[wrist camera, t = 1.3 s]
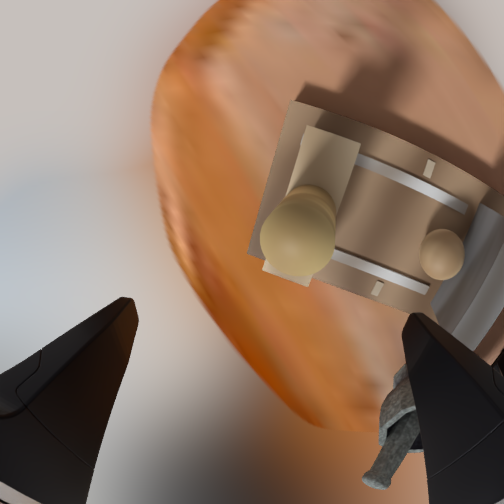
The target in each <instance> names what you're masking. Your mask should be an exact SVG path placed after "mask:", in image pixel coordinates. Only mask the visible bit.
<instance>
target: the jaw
mask: <svg viewBox="0 0 504 504" xmlns="http://www.w3.org/2000/svg"><path fill="white" fill-rule="evenodd" d="M360 145H361V144H360V143H358V142H355V141H352V140H350V139H347V138H344V137H341V136H338V135H336V134H333V133H330V132H327V131H324V130H321V129H318V128H315V127H311V126H308V125H307V126H306V130H305V133H304V137H303V140H302V143H301V147H300V150H299V153H298V157H297V160H296V163H295V167H294V170H293V173H292V176H291V180H290V183H289V186H288V189H287V193H286V196H285V198H284V199H283V200H282V201H281V202H280V204H279V205H278V206H277V207H276V208H275V209H274V210H273V211H272V213H271V214H270V215H269V216H268V217H267V219H266V220H265V222H264V223H263V225H262V228H261V232H260V245H261V249H262V252H263V254H264V256H265V258H266V260H265V263H264V266H263V269H262V270H263V271H266V272H269V273H271V274H274V275H277V276H279V277H282V278H285V279H287V280H290V281H293V282H295V283H298V284H301V285H303V286H306V287H308V286H309V283H310V281H311V278H312V276H313V274H314V273H316V272H318V271H320V270H321V269H322V268H324V267H325V266H326V265H327V264H328V262H329V261H330V259H331V257H332V255H333V252H334V248H335V230H336V215H337V212H338V209H339V207H340V204H341V201H342V198H343V196H344V193H345V190H346V187H347V184H348V181H349V179H350V176H351V173H352V170H353V167H354V164H355V161H356V158H357V155H358V152H359V149H360Z"/></svg>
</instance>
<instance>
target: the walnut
mask: <svg viewBox="0 0 504 504" xmlns="http://www.w3.org/2000/svg"><path fill="white" fill-rule="evenodd" d="M464 258H465V250H464V246H463V243H462V241H461V239H460V238H459V237H458V236H457V235H456V234H455V233H454V232H452V231H450V230H447V229H437V230H434V231H432V232H430V233H429V234H428V235H426V237H425V238H424V239H423V241H422V243H421V245H420V249H419V260H420V264H421V266H422V268H423V270H424V271H425V273H426V274H427V275H429V276H430V277H432V278H434V279H437V280H447V279H450V278H452V277H454V276H455V275H456V274H457V273H458V272H459V271H460V269H461V268H462V266H463V263H464Z"/></svg>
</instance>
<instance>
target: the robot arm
mask: <svg viewBox="0 0 504 504" xmlns="http://www.w3.org/2000/svg"><path fill="white" fill-rule="evenodd" d="M138 322H139V319H138V314H137V310H136V307H135V302H134V300H133V299H132V298H127V297H120V298H119V299H117V300H115V301H114V302H112V303H111V304H109V305H107V306H106V307H104V308H103V309H101V310H100V311H98V312H97V313H95V314H93V315H92V316H90V317H89V318H87V319H86V320H84V321H83V322H81V323H80V324H78V325H76V326H75V327H73V328H72V329H70V330H69V331H68V332H66V333H65V334H63V335H62V336H60V337H58V338H57V339H55V340H54V341H52V342H51V343H49V344H48V345H46V346H45V347H43V348H42V350H41V349H40V350H39V351H37V352H36V353H34V354H33V355H31V356H30V357H28V358H27V359H25V360H24V361H22V362H21V363H19V364H17V365H16V366H14V367H12V368H11V369H9V370H7V371H5V372H3V373H2V374H0V504H86V501H87V497H88V492H89V488H90V484H91V480H92V476H93V472H94V468H95V464H96V461H97V457H98V454H99V450H100V447H101V443H102V439H103V437H104V433H105V430H106V427H107V424H108V420H109V417H110V414H111V411H112V408H113V405H114V402H115V399H116V396H117V393H118V390H119V387H120V385H121V382H122V379H123V376H124V374H125V371H126V368H127V365H128V362H129V358H130V354H131V350H132V346H133V342H134V338H135V335H136V331H137V327H138ZM402 341H403V346H404V352H405V359H406V365H407V371H408V377H409V381H410V385H411V389H412V394H413V398H414V403H415V407H416V412H417V417H418V422H419V427H420V433H421V439H422V445H423V451H424V458H425V465H426V473H427V479H428V480H427V483H428V494H429V504H504V351H503V352H502V354H501V355H500V356H499V358H498V359H497V360H496V361H495V363H494V364H493V365H492V366H490V365H489V364H488V363H486V362H485V361H484V360H483V359H481V358H480V357H479V356H478V355H477V354H475V353H474V352H473V351H472V350H470V349H469V348H468V347H467V346H465V345H464V344H463V343H462V342H460V341H459V340H458V339H456V338H455V337H454V336H453V335H451V334H450V333H449V332H447V331H446V330H445V329H444V328H442V327H441V326H440V325H438V324H437V323H436V322H434V321H433V320H432V319H430V318H429V317H428V316H426V315H425V314H424V313H422V312H413V313H411V314H410V315H409V317H408V320H407V322H406V324H405V326H404V328H403V331H402Z"/></svg>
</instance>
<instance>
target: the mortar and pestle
mask: <svg viewBox="0 0 504 504" xmlns="http://www.w3.org/2000/svg"><path fill="white" fill-rule="evenodd" d="M379 445H381V446H383V447H382V449H381V451H380V453H379V454H378V457H377V458H376V460H375V462H374V464H373V466H372V467H371V469H370V470H369V471H368V472H366V473H365V474H364V475H363V477H362V480H363V482H364V483H365V484H367V485H368V486H370V487H372V488H375V489H383V490H384V489H387V488H388V487H389V486H390V484H391V478H392V476H393V474H394V473H395V471H396V470H397V468H398V467H399V466H400V464H401V462H402V461H403V459H404V458H405V456H406V454H407V453H416V452H423V445H422V439H421V433H420V427H419V422H418V417H417V412H416V407H415V403H414V398H413V394H412V389H411V385H410V381H409V377H408V371H407V365H406V364H405V365H404V366H403V367H402V368H401V369H400V370H399V371H398V372H397V373H396V375H395V376H394V384H393V390H392V391H391V392H390V393H389V394H388V395H387V397H386V399H385V400H384V402H383V404H382V406H381V412H380V420H379Z"/></svg>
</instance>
